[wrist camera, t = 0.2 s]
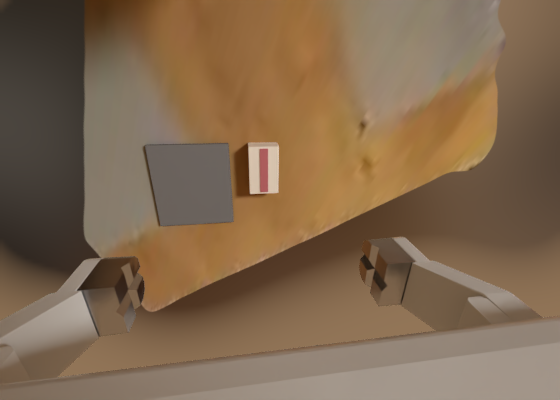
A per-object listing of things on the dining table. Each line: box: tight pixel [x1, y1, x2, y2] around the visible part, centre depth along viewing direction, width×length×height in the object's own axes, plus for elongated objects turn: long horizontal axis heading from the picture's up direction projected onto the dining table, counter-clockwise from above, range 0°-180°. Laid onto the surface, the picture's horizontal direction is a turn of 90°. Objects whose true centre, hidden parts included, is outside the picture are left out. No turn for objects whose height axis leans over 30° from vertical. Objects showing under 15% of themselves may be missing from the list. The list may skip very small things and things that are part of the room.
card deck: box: [248, 142, 279, 194], centre depth 57 cm, size 10×6×4 cm, turn 179°
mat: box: [145, 143, 233, 226], centre depth 57 cm, size 18×16×1 cm
